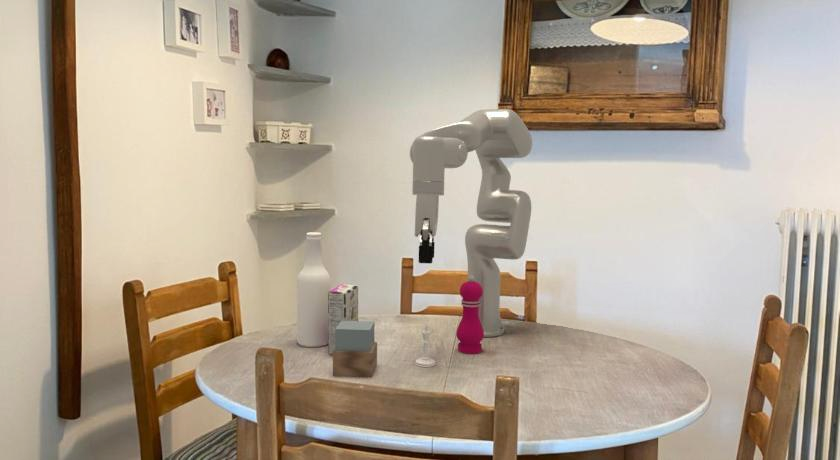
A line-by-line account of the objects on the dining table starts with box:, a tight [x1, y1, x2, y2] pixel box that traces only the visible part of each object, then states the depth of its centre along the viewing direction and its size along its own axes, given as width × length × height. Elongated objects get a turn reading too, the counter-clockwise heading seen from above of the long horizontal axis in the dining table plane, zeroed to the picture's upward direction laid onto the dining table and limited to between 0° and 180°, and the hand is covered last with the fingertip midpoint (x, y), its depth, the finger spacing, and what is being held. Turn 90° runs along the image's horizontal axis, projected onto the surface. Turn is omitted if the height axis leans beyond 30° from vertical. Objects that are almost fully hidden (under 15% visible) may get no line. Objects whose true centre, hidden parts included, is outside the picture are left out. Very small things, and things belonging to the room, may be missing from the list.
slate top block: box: [335, 320, 376, 352], centre depth 151 cm, size 8×8×5 cm
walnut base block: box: [332, 341, 378, 378], centre depth 151 cm, size 9×9×6 cm
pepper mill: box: [456, 275, 485, 355], centre depth 169 cm, size 7×7×20 cm
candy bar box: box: [328, 283, 359, 356], centre depth 168 cm, size 11×5×16 cm, turn 168°
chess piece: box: [415, 323, 436, 368], centre depth 157 cm, size 5×5×10 cm
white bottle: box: [296, 231, 331, 348], centre depth 173 cm, size 9×9×30 cm
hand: (426, 260), depth 155 cm, fingers open, 9 cm apart
